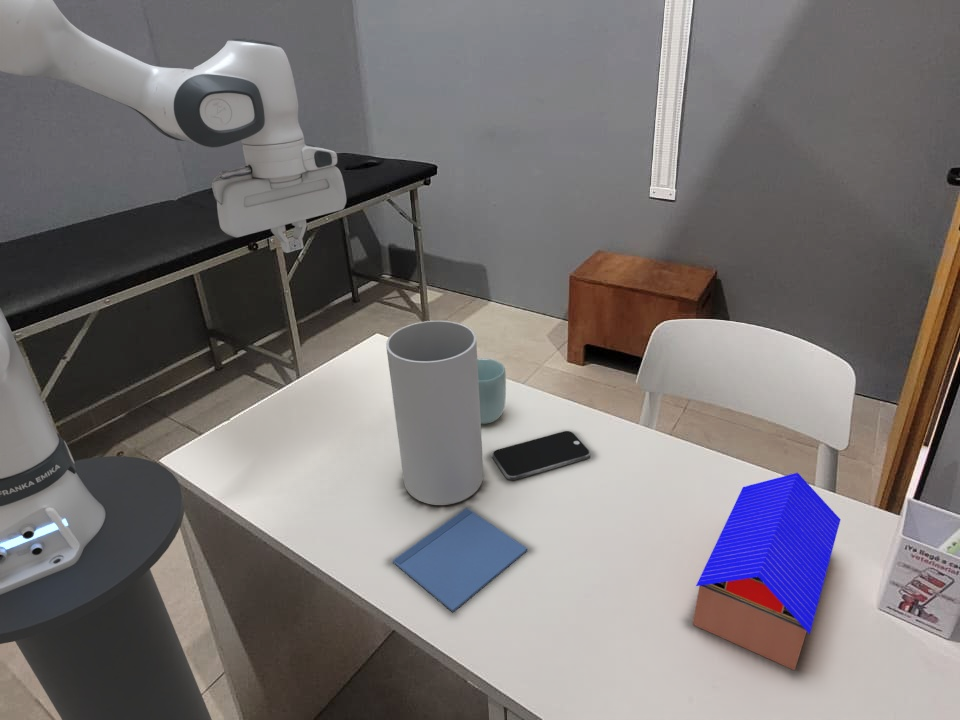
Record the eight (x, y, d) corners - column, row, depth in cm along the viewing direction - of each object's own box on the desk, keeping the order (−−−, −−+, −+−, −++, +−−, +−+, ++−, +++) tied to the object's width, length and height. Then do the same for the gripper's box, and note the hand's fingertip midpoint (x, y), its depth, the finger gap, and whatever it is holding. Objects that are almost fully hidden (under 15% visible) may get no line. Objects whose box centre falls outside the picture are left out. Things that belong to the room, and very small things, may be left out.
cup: (487, 434, 112) (485, 385, 108) (454, 419, 117) (450, 371, 112) (514, 414, 117) (514, 366, 113) (482, 400, 122) (480, 354, 117)
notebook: (452, 612, 80) (452, 609, 80) (392, 562, 88) (392, 559, 88) (527, 550, 89) (527, 547, 89) (466, 509, 96) (466, 507, 96)
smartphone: (593, 454, 105) (508, 478, 101) (592, 457, 106) (508, 482, 101) (570, 428, 112) (489, 450, 107) (570, 432, 112) (490, 454, 107)
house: (689, 625, 77) (701, 554, 72) (735, 523, 92) (748, 457, 86) (797, 674, 71) (819, 601, 66) (828, 557, 85) (849, 488, 80)
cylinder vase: (395, 505, 98) (375, 361, 86) (414, 454, 109) (398, 319, 96) (477, 510, 96) (469, 363, 84) (488, 457, 107) (481, 321, 95)
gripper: (219, 176, 87) (241, 273, 94) (345, 151, 100) (357, 238, 106) (199, 170, 91) (221, 263, 98) (322, 147, 104) (335, 230, 110)
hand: (293, 250), depth 102 cm, fingers closed
